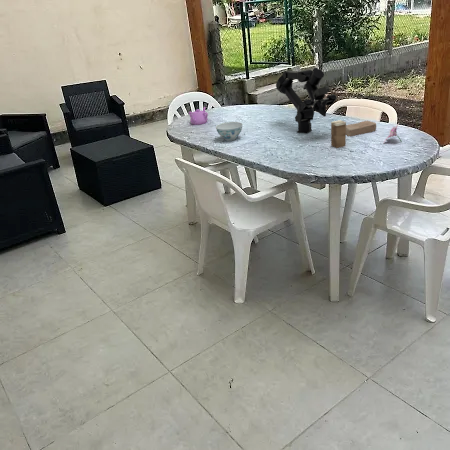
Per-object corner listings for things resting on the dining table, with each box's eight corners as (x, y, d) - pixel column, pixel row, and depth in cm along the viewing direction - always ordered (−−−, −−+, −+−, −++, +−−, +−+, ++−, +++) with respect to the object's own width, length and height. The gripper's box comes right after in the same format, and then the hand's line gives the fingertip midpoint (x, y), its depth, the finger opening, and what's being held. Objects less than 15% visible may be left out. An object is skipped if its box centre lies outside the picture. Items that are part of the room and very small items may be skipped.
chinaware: (230, 133, 263) (229, 120, 260) (249, 137, 253) (247, 123, 250) (212, 140, 254) (210, 127, 251) (230, 144, 244) (229, 130, 241)
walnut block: (331, 145, 224) (331, 122, 219) (339, 143, 226) (339, 120, 220) (336, 148, 220) (337, 124, 215) (345, 145, 221) (345, 122, 216)
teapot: (207, 119, 301) (205, 106, 297) (209, 124, 289) (207, 110, 285) (189, 121, 300) (187, 108, 296) (191, 126, 288) (189, 113, 284)
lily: (394, 138, 227) (385, 122, 224) (414, 132, 217) (405, 116, 214) (382, 151, 222) (373, 136, 219) (403, 146, 212) (393, 130, 209)
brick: (349, 137, 234) (349, 128, 232) (340, 133, 241) (341, 125, 239) (376, 131, 238) (377, 123, 235) (367, 128, 245) (368, 119, 243)
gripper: (302, 84, 222) (314, 110, 218) (334, 78, 227) (347, 103, 223) (295, 97, 232) (306, 122, 228) (326, 91, 237) (338, 116, 233)
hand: (325, 116), depth 228 cm, fingers closed
